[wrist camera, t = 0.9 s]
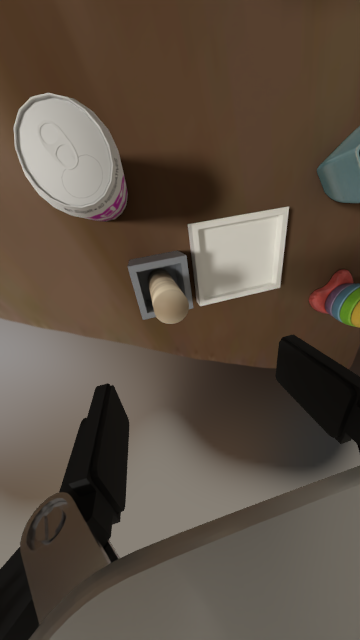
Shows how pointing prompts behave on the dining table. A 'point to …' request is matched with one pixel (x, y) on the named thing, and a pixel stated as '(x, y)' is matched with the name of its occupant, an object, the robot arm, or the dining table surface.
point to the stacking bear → (339, 298)
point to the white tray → (238, 254)
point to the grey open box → (168, 261)
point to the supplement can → (70, 157)
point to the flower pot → (343, 171)
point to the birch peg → (167, 297)
